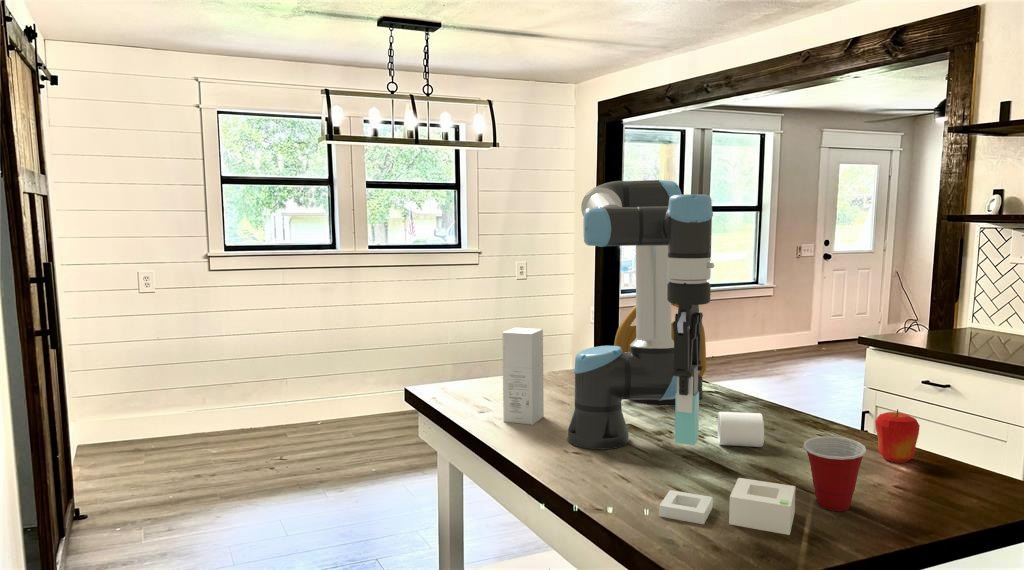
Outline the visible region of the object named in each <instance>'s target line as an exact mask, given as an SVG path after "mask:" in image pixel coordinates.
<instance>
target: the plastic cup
mask: <svg viewBox="0 0 1024 570" xmlns="http://www.w3.org/2000/svg"><path fill="white" fill-rule="evenodd" d="M803 448H804V450H805V451H806V453H807V457H808V460H809V463H810V469H811V470H810V471H811V477H812V482H813V488H814V492H815V493H814V494H815V501H816V504H817V505H818V507H820V508H823V509H825V510H829V511H833V512H844V511H848V510H849V509H850V506H851V505H852V501H853V495H854V493H855V490H856V484H857V481H858V476H859V471H860V467H861V463H862V460H863V458H864V455H865V454H866V452H867V448H866V446H865V445H864V444H862V443H861V442H859V441H857V440H854V439H852V438H846V437H840V436H827V435H826V436H816V437H812V438H808V439H807V440H805V441H804V442H803Z"/></svg>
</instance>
